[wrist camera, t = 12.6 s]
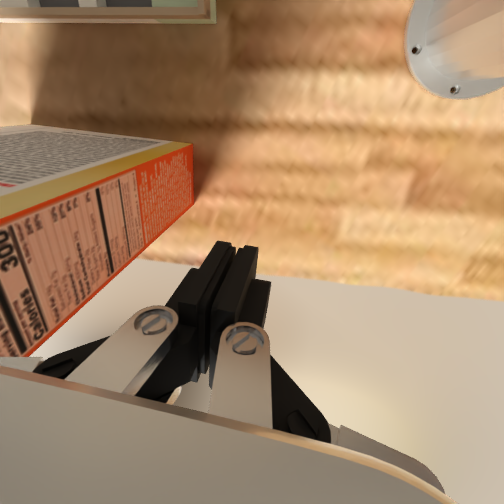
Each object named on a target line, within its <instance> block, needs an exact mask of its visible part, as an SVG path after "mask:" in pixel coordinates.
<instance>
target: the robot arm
mask: <svg viewBox="0 0 504 504" xmlns="http://www.w3.org/2000/svg"><path fill="white" fill-rule="evenodd" d="M413 48H416V53H415V54H413V53H412V49H413ZM404 50H405V59H406V62H407V65H408V68H409V71H410V73H411V74H412V76H413V78H414V79H415V81H416V82H417V83H418V84H419V85H420V86H421V87H422V88H423V89H424V90H426V91H428V92H429V93H431V94H433V95H435V96H438V97H441V98H445V99H470V98H475V97H480V96H483V95H486V94H489V93H491V92H494V91H497V90H498V89H500V88H502V87H504V0H414V1H413V3H412V6H411V8H410V11H409V14H408V18H407V22H406V27H405V35H404ZM452 87H453V88H454V91H453V92H452V93H450V90H451V88H452ZM257 259H258V247H254V246H248V245H245V246H244V248H239V249H238V251H237V253H236V247H232V245H231V243H229V242H223V241H217V242H216V243H215V245H214V247H213V248H212V250H211V251H210V253H209V254H208V256H207V257H206V259H205V260H204V262H203V264H202V265H201V267H200V268H199V269H196V268H191V269H190V270H189V272H188V273H187V275H186V276H185V278H184V279H183V280H182V282H181V283H180V285H179V286H178V288H177V289H176V290H175V292H174V293H173V295H172V296H171V298H170V299H169V301H168V302H167V303H166V305H165V306H150V307H146V308H144V309H141V310H139V311H138V312H136V313H135V314H134V315H133V316H132V317H131V318H129V319H128V320H127V321H126V322H125V323H124V324H123V325H122V326H121V327H120V328H119V329H118V330H117V331H116V332H115V333H113V335H111V336H108V337H105V338H103V339H100V340H97V341H94V342H91V343H88V344H85V345H82V346H80V347H77V348H74V349H71V350H68V351H65V352H62V353H60V354H57V355H55V356H52V357H50V358H48V359H47V360H45V361H44V360H43V357H0V504H458V503H457V502H455V501H454V500H453V499H451V498H450V497H448V496H447V495H445V492H444V489H443V487H442V485H441V484H440V482H439V480H438V479H437V477H436V476H435V475H434V474H433V473H432V472H431V471H430V470H429V469H428V468H427V467H426V466H425V465H424V464H422V463H420V462H419V461H417V460H416V459H414V458H411V457H409V456H407V455H405V454H403V453H401V452H399V451H397V450H394V449H392V448H390V447H388V446H386V445H383V444H381V443H379V442H377V441H375V440H373V439H370V438H368V437H366V436H364V435H362V434H359V433H358V432H355V431H353V430H351V429H349V428H347V427H345V426H342V425H341V426H340V428H337V427H335V426H333V425H330V424H329V423H328V422H327V420H326V419H325V417H324V416H323V415H322V413H321V412H320V411H319V410H318V408H317V407H316V406H315V405H314V404H313V403H312V402H311V400H310V399H309V398H308V397H307V396H306V395H305V394H304V393H303V391H302V390H301V389H300V388H299V387H298V386H297V385H296V383H295V382H294V381H293V380H292V379H291V378H290V377H289V375H288V374H287V373H286V372H285V371H284V370H283V369H282V367H281V366H280V365H279V364H278V363H277V362H276V361H275V359H274V358H273V357H272V356H271V355H270V341H269V337H268V335H267V333H266V332H265V330H263V328H264V323H265V318H266V313H267V307H268V301H269V295H270V287H271V282H270V281H264V280H259V279H255V276H256V267H257ZM209 364H210V366H209ZM208 367H209V368H210V369H209V386H210V388H211V390H212V393H211V398H210V404H209V410H208V413H204V412H200V411H196V410H191V409H187V408H183V407H179V406H174V405H173V404H174V403H175V401H176V399H177V398H178V396H179V394H180V392H181V389H182V385H184V384H186V383H188V382H190V381H193V382H197V381H198V379H199V376H200V374H201V373H204V374H206V372H207V370H208Z"/></svg>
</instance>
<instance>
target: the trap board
mask: <svg viewBox="0 0 504 504" xmlns="http://www.w3.org/2000/svg"><path fill="white" fill-rule="evenodd" d="M0 22H12V23H165V24H216V0H0Z"/></svg>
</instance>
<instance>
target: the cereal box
mask: <svg viewBox="0 0 504 504" xmlns="http://www.w3.org/2000/svg"><path fill="white" fill-rule="evenodd" d="M193 205H194V182H193V144H191V143H183V142H174V141H166V140H158V139H149V138H141V137H133V136H125V135H116V134H108V133H100V132H91V131H83V130H75V129H66V128H58V127H50V126H41V125H33V124H28V125H17V126H6V127H0V357H29V356H30V355H31V354H32V353H33V352H34V351H36V350H37V349H38V348H39V347H40V346H41V345H42V344H43V343H44V342H45V341H46V340H47V339H49V337H51V336H52V335H53V334H54V333H55V332H56V331H57V330H58V329H59V328H60V327H62V326H63V325H64V324H65V323H66V322H67V321H68V320H69V319H70V318H71V317H72V316H73V315H75V314H76V313H77V312H78V311H79V310H80V309H81V308H82V307H83V306H84V305H85V304H86V303H87V302H88V301H90V300H91V299H92V298H93V297H94V296H95V295H96V294H97V293H98V292H99V291H100V290H101V289H103V288H104V287H105V286H106V285H107V284H108V283H109V282H110V281H111V280H112V279H113V278H115V276H117V275H118V274H119V273H120V272H121V271H122V270H123V269H124V268H125V267H126V266H128V265H129V264H130V263H131V262H132V261H133V260H134V259H135V258H136V257H137V256H138V255H139V254H141V253H142V252H143V251H144V250H145V249H146V248H147V247H148V246H149V245H150V244H151V243H152V242H154V241H155V240H156V239H157V238H158V237H159V236H160V235H161V234H162V233H163V232H164V231H165V230H167V229H168V228H169V227H170V226H171V225H172V224H173V223H174V222H175V221H176V220H177V219H178V218H180V217H181V216H182V215H183V214H184V213H185V212H186V211H187V210H188V209H189V208H190V207H191V206H193Z"/></svg>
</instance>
